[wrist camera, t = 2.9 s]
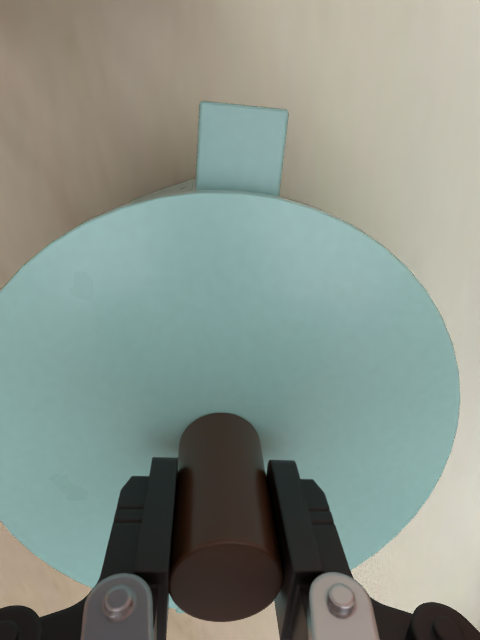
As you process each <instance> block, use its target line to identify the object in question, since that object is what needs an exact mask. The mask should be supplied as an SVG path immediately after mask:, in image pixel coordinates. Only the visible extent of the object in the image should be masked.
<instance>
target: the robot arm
mask: <svg viewBox="0 0 480 640" xmlns="http://www.w3.org/2000/svg"><path fill="white" fill-rule="evenodd" d="M177 474H178V458H174V457H153V458H152V462H151V468H150V474H149V476H131V478H130V479H129V480H128V481H127V483H126V484H125V485H124V486H123V488H122V489H121V491H120V495H119V499H118V503H117V509H116V512H115V516H114V522H113V524H112V529H111V533H110V537H109V541H108V545H107V550H106V554H105V558H104V562H103V566H102V571H101V574H100V577H99V580H98V582H97V584H96V585H95V586H94V588H93V589H92V590H91V591H90V593H89V594H88V595H87V596H86V597H85V598H84V599H83V600H81V601H80V602H78V603H77V604H75V605H73V606H71V607H69V608H66V609H64V610H61V611H58V612H55V613H52V614H49V615H46V616H43V617H40V618H39V616H38V615H37V614H36V612H35V611H33V610H32V609H30V608H28V607H25V606H8V607H4V608H1V609H0V640H166V633H167V620H168V607H169V571H170V559H171V547H172V535H173V523H174V510H175V498H176V486H177ZM266 478H267V483H268V489H269V495H270V500H271V506H272V512H273V517H274V523H275V529H276V534H277V540H278V546H279V551H280V557H281V563H282V568H283V582H282V587H281V590H280V592H279V594H278V595H277V597H276V598H275V600H274V601H275V608H276V615H277V622H278V629H279V635H280V640H480V632H479V631H478V630H477V629H476V628H475V627H474V626H473V625H472V624H471V623H470V622H469V621H468V620H467V619H466V618H465V617H463V616H462V615H461V614H460V613H458V612H457V611H456V610H454V609H452V608H450V607H448V606H446V605H443V604H440V603H435V602H428V603H423V604H421V605H419V606H418V607H417V608H416V609H415V611H414V613H413V614H411V613H408V612H405V611H401V610H398V609H395V608H392V607H389V606H386V605H383V604H381V603H379V602H377V601H375V600H374V599H372V598H371V597H369V595H368V593H367V592H366V590H365V589H364V588H363V587H362V585H361V584H359V583H358V582H357V581H356V580H354V578H353V576H352V574H351V571H350V568H349V565H348V562H347V559H346V556H345V553H344V550H343V547H342V544H341V541H340V538H339V535H338V532H337V529H336V526H335V525H334V520H333V517H332V514H331V511H330V508H329V505H328V502H327V499H326V496H325V493H324V492H323V490H322V489H321V488H320V487H319V486H318V485H317V483H316V482H315V481H314V480H313V479H300V476H299V472H298V469H297V465H296V462H295V461H294V460H269V461H268V466H267V473H266Z"/></svg>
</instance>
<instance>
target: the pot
mask: <svg viewBox="0 0 480 640" xmlns="http://www.w3.org/2000/svg"><path fill="white" fill-rule="evenodd" d="M288 115H289V113H288V110H286V109H278V108H268V107H258V106H248V105H238V104H228V103H218V102H209V101H202V102H200V104H199V122H198V144H197V165H196V179H194V180H193V179H191V180H188V181H185V182H182V183H179V184H177V185H173V186H169V187H165V188H163V189H160V190H158V191H155V192H153V193H150V194H147V195H144V196H141V197H138V198H135V199H134V200H132V201H131V202H130V203H132V202H136V201H140V200H143V199H147V198H151V197H155V196H158V195H163V194H171V193H179V192H187V191H196V190H240V191H247V192H254V193H260V194H267V195H273V196H279V193H280V184H281V176H282V167H283V158H284V150H285V141H286V133H287V124H288ZM279 197H280V196H279ZM176 612H177V613H185V612H184V611H182V610H181V609H176Z"/></svg>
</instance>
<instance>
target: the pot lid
mask: <svg viewBox="0 0 480 640" xmlns="http://www.w3.org/2000/svg"><path fill="white" fill-rule="evenodd" d="M459 406H460V387H459V371H458V367H457V362H456V357H455V353H454V348H453V344H452V341H451V339H450V336H449V334H448V331H447V328H446V326H445V323H444V321H443V318H442V316H441V314H440V313H439V311H438V309H437V308H436V306H435V304H434V303H433V301H432V299H431V298H430V296H429V294H428V292H427V291H426V290H425V288H424V287H423V286H422V285H421V284H420V282H419V281H418V280H417V279H416V278H415V276H414V275H413V274H412V273H411V271H410V270H409V269H408V268H407V267H406V266H405V265H404V264H403V263H402V262H401V261H400V260H399V259H397V258H396V257H395V256H394V255H393V254H392V253H391V252H389V251H388V250H387V249H386V248H385V247H384V246H383V245H382V244H380V243H379V242H377V241H376V240H374V239H372V238H371V237H369V236H368V235H366V234H365V233H363V232H362V231H360V230H359V229H357V228H355V227H354V226H352V225H351V224H349V223H348V222H346V221H344V220H341V219H339V218H337V217H335V216H333V215H330V214H328V213H326V212H324V211H322V210H320V209H317V208H315V207H313V206H309V205H306V204H303V203H299V202H296V201H292V200H289V199H286V198H282V197H279V196H273V195H267V194H260V193H254V192H247V191H240V190H196V191H187V192H179V193H171V194H163V195H158V196H155V197H151V198H147V199H143V200H140V201H136V202H132V203H128V204H124V205H122V206H119V207H117V208H115V209H112V210H110V211H108V212H105V213H103V214H100V215H98V216H96V217H93V218H91V219H89V220H87V221H85V222H84V223H82V224H80V225H79V226H77V227H75V228H74V229H72V230H70V231H69V232H67V233H65V234H64V235H62V236H60V237H59V238H57V239H55V240H54V241H52V242H51V243H50V244H49V245H47V246H46V247H45V248H44V249H43V250H41V251H40V252H39V253H38V254H36V255H35V256H34V257H33V258H32V259H30V260H29V261H28V262H27V263H26V264H24V265H23V266H22V267H21V268H20V269H19V270H18V272H17V273H16V274H15V275H14V276H13V277H12V278H11V279H10V281H9V282H8V283H7V284H6V285H5V286H4V287H3V288H2V290H1V291H0V521H1V522H2V523H3V524H4V525H5V527H6V528H7V529H8V530H9V531H10V533H11V534H12V535H13V536H14V537H15V538H17V539H18V540H19V541H20V542H21V543H22V544H23V545H24V546H25V547H26V548H27V549H29V550H30V551H31V552H32V553H33V554H35V555H36V556H37V557H39V558H40V559H41V560H43V561H44V562H46V563H47V564H48V565H50V566H51V567H53V568H54V569H56V570H58V571H59V572H61V573H63V574H65V575H66V576H68V577H70V578H72V579H74V580H75V581H77V582H79V583H82V584H84V585H86V586H89V587H91V588H94V586H95V585H96V584H97V582H98V580H99V577H100V574H101V571H102V566H103V562H104V558H105V554H106V550H107V545H108V541H109V537H110V533H111V529H112V524H113V522H114V516H115V512H116V509H117V503H118V499H119V495H120V491H121V489H122V488H123V486H124V485H125V484H126V483H127V481H128V480H129V479H130V478H131V476H149V474H150V468H151V462H152V458H153V457H174V458H178V474H177V486H176V498H175V510H174V523H173V535H172V547H171V559H170V571H169V607H168V608H175V609H181V610H182V611H184V612H185V613H187V614H189V615H191V616H193V617H195V618H198V619H201V620H206V621H213V622H229V621H236V620H240V619H244V618H247V617H250V616H252V615H255V614H257V613H259V612H260V611H262V610H263V609H265V608H266V607H268V606H269V605H270V604H271V603H272V602H273V601H274V600H275V598H276V597H277V595H278V594H279V592H280V590H281V587H282V582H283V568H282V563H281V557H280V551H279V546H278V540H277V534H276V529H275V523H274V517H273V512H272V506H271V500H270V495H269V489H268V483H267V478H266V473H267V466H268V461H269V460H294V461H295V462H296V465H297V469H298V472H299V476H300V479H313V480H314V481H315V482H316V483H317V485H318V486H319V487H320V488H321V489H322V490H323V492H324V493H325V496H326V499H327V502H328V505H329V508H330V511H331V514H332V517H333V520H334V525H335V526H336V529H337V532H338V535H339V538H340V541H341V544H342V547H343V550H344V553H345V556H346V559H347V562H348V565H349V568H350V570H352V569H353V568H355V567H357V566H358V565H359V564H361V563H362V562H364V561H365V560H367V559H368V558H370V557H371V556H373V555H374V554H375V553H377V552H378V551H379V550H380V549H381V548H383V547H384V546H385V545H386V544H387V543H389V542H390V541H391V540H392V539H393V538H394V537H396V536H397V535H398V533H399V532H400V531H401V530H402V529H403V528H404V527H405V526H406V525H407V524H408V523H409V522H410V521H411V520H412V519H413V518H414V516H415V515H416V514H417V512H418V511H419V509H420V508H421V507H422V505H423V504H424V503H425V501H426V500H427V499H428V497H429V496H430V494H431V492H432V490H433V489H434V487H435V485H436V483H437V482H438V480H439V478H440V476H441V475H442V472H443V470H444V467H445V465H446V462H447V460H448V457H449V455H450V452H451V450H452V446H453V442H454V438H455V434H456V430H457V426H458V416H459Z"/></svg>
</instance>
